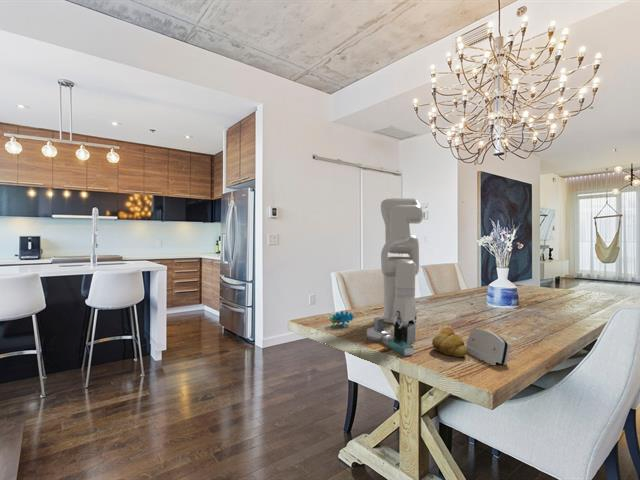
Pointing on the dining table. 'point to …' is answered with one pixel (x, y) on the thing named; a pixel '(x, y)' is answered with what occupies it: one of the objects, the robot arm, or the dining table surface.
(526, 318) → the dining table surface
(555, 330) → the dining table surface
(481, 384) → the dining table surface
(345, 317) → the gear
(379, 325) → the ratchet
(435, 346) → the bread roll
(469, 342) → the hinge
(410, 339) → the socket
